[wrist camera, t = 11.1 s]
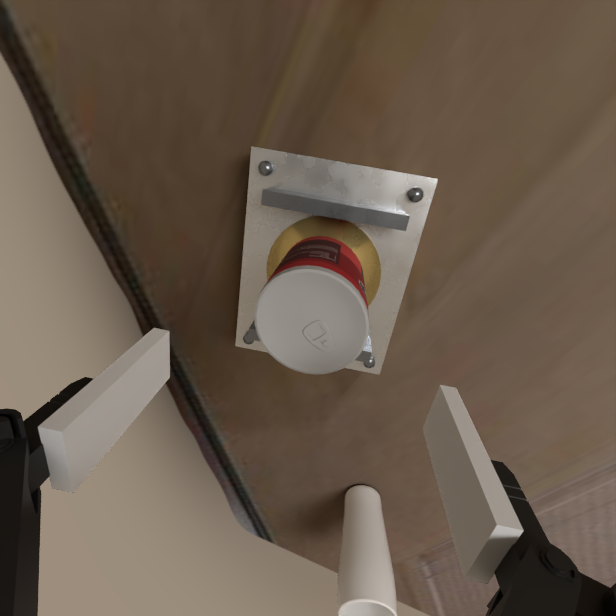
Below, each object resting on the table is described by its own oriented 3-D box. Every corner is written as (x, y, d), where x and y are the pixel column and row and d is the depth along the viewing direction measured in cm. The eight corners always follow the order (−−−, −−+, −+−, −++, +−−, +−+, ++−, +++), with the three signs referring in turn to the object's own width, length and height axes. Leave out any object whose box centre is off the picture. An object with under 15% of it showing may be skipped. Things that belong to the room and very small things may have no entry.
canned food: (330, 326, 34) (322, 394, 24) (266, 279, 33) (230, 330, 23) (381, 270, 31) (396, 321, 21) (314, 216, 30) (296, 242, 20)
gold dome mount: (264, 148, 33) (241, 144, 26) (425, 176, 33) (447, 180, 25) (247, 325, 41) (226, 360, 34) (375, 350, 41) (381, 391, 33)
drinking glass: (350, 473, 49) (351, 592, 36) (393, 489, 50) (410, 613, 36) (333, 501, 52) (327, 621, 38) (373, 516, 52) (382, 640, 39)
